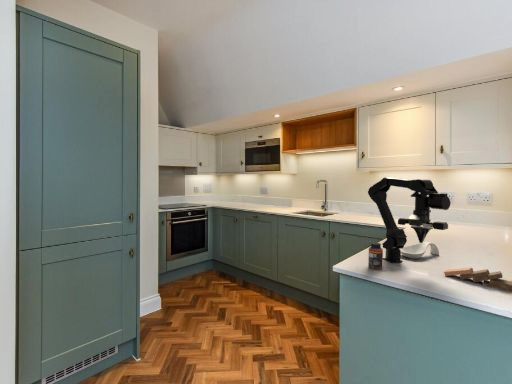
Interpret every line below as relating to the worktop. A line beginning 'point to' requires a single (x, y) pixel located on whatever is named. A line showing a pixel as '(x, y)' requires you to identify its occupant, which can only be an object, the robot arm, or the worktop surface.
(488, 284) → the walnut domino
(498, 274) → the walnut domino
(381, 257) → the supplement bottle
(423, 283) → the worktop surface
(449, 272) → the terracotta domino
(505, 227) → the worktop surface
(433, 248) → the spoon rest
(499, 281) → the walnut domino
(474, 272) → the walnut domino
